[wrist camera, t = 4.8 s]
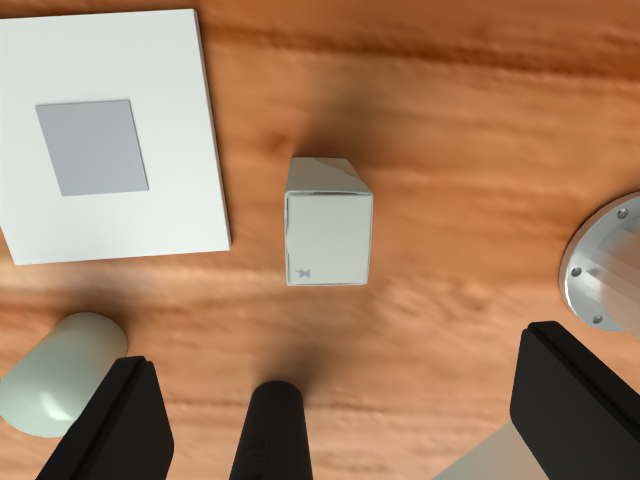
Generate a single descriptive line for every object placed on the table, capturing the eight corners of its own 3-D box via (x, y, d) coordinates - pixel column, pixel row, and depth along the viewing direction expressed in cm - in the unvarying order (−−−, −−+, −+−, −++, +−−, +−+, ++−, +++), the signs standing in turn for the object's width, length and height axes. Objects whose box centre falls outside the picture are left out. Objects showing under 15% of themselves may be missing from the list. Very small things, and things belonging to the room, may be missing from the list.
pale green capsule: (118, 309, 32) (73, 365, 26) (135, 368, 34) (97, 433, 28) (44, 314, 32) (-20, 372, 26) (66, 373, 34) (11, 440, 28)
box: (344, 222, 30) (368, 291, 20) (289, 222, 30) (284, 292, 20) (348, 154, 29) (376, 192, 18) (289, 153, 28) (283, 191, 18)
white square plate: (196, 11, 25) (192, 8, 24) (231, 244, 31) (229, 250, 30) (-62, 25, 24) (-78, 22, 23) (24, 259, 30) (13, 266, 29)
